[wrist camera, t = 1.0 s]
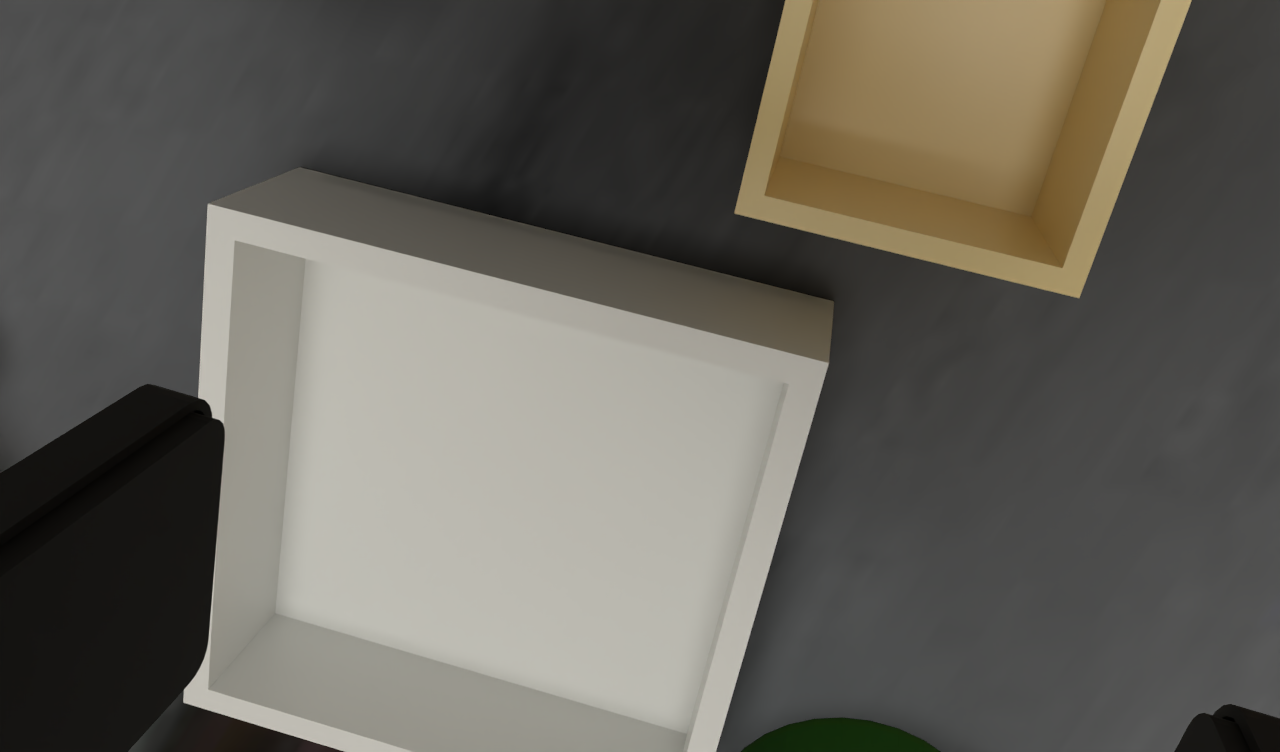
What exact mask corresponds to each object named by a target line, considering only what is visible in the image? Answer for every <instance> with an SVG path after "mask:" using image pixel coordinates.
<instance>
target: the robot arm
mask: <svg viewBox="0 0 1280 752" xmlns="http://www.w3.org/2000/svg"><path fill="white" fill-rule="evenodd" d="M224 443H225V429H224V425H223V423H222V422H221V421H220V420H218V419H215V418H212V411H211V408H210V405H209V404H208V403H207V402H206V401H205V400H203V399H200V398H196V397H193V396H189V395H186V394H183V393H179V392H176V391H173V390H169V389H166V388H162V387H159V386H156V385H150V384H146V385H144V386H141V387H139V388H137V389H136V390H134V391H132V392H131V393H129V394H128V395H126V396H124V397H123V398H121V399H120V400H118V401H116V402H115V403H113V404H112V405H110V406H108V407H107V408H105V409H103V410H102V411H100V412H99V413H97V414H95V415H94V416H92V417H91V418H89V419H87V420H86V421H84V422H83V423H81V424H79V425H78V426H76V427H74V428H73V429H71V430H70V431H68V432H66V433H65V434H63V435H62V436H60V437H58V438H57V439H55V440H54V441H52V442H50V443H49V444H47V445H45V446H44V447H42V448H41V449H39V450H37V451H36V452H34V453H33V454H31V455H29V456H28V457H26V458H25V459H23V460H21V461H20V462H18V463H16V464H15V465H13V466H12V467H10V468H8V469H7V470H5V471H4V472H2V473H0V752H128V751H129V750H130V748H131V747H132V746H133V745H134V744H135V743H136V742H137V741H138V740H139V738H140V737H141V736H142V735H143V734H144V733H145V732H146V731H147V730H148V729H149V727H150V726H151V725H152V724H153V723H154V722H155V721H156V720H157V719H158V717H159V716H160V715H161V714H162V713H163V712H164V711H165V710H166V709H167V708H168V706H169V705H170V704H171V703H172V702H173V701H174V700H175V699H176V698H177V697H178V695H179V694H180V693H181V692H182V691H183V690H184V689H185V688H186V687H187V685H188V684H189V683H190V682H191V681H192V679H193V678H194V677H195V676H196V674H197V672H198V670H199V669H200V667H201V664H202V662H203V660H204V657H205V654H206V651H207V646H208V640H209V627H210V615H211V603H212V591H213V578H214V566H215V554H216V541H217V529H218V517H219V505H220V492H221V480H222V468H223V455H224ZM1175 752H1280V718H1276V717H1273V716H1269V715H1266V714H1263V713H1259V712H1256V711H1253V710H1249V709H1246V708H1242V707H1239V706H1236V705H1232V704H1228V705H1224V706H1222V707H1221V708H1220V709H1218V710H1217V711H1216V712H1215V713H1214V715H1209V714H1206V713H1202V714H1198V715H1197V716H1196V717H1195V718H1193V720H1192V721H1191V723H1190V724H1189V726H1188V728H1187V729H1186V731H1185V733H1184V735H1183V737H1182V739H1181V741H1180V743H1179V744H1178V746H1177V748H1176V750H1175Z"/></svg>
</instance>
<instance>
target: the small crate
mask: <svg viewBox="0 0 1280 752" xmlns="http://www.w3.org/2000/svg"><path fill="white" fill-rule="evenodd" d="M1191 1H1192V0H785V5H784V9H783V13H782V17H781V21H780V25H779V29H778V34H777V38H776V42H775V46H774V50H773V54H772V59H771V63H770V67H769V71H768V75H767V79H766V84H765V88H764V92H763V96H762V100H761V104H760V108H759V113H758V117H757V121H756V125H755V129H754V133H753V138H752V142H751V146H750V150H749V154H748V158H747V163H746V167H745V171H744V175H743V179H742V183H741V188H740V192H739V196H738V200H737V204H736V208H735V212H734V214H738V215H742V216H746V217H750V218H755V219H759V220H763V221H767V222H771V223H775V224H779V225H783V226H787V227H791V228H795V229H799V230H803V231H807V232H811V233H816V234H820V235H824V236H828V237H832V238H836V239H840V240H844V241H848V242H852V243H856V244H860V245H864V246H868V247H873V248H877V249H881V250H885V251H889V252H893V253H897V254H901V255H905V256H909V257H913V258H917V259H921V260H925V261H929V262H934V263H938V264H942V265H946V266H950V267H954V268H958V269H962V270H966V271H970V272H974V273H978V274H982V275H986V276H991V277H995V278H999V279H1003V280H1007V281H1011V282H1015V283H1019V284H1023V285H1027V286H1031V287H1035V288H1039V289H1043V290H1047V291H1052V292H1056V293H1060V294H1064V295H1068V296H1072V297H1076V298H1079V297H1080V295H1081V292H1082V290H1083V287H1084V284H1085V282H1086V279H1087V276H1088V274H1089V271H1090V268H1091V266H1092V263H1093V260H1094V258H1095V255H1096V252H1097V250H1098V247H1099V245H1100V242H1101V239H1102V237H1103V234H1104V231H1105V229H1106V226H1107V223H1108V221H1109V218H1110V215H1111V213H1112V210H1113V207H1114V205H1115V202H1116V199H1117V197H1118V194H1119V192H1120V189H1121V186H1122V184H1123V181H1124V178H1125V176H1126V173H1127V170H1128V168H1129V165H1130V162H1131V160H1132V157H1133V154H1134V152H1135V149H1136V146H1137V144H1138V141H1139V139H1140V136H1141V133H1142V131H1143V128H1144V125H1145V123H1146V120H1147V117H1148V115H1149V112H1150V109H1151V107H1152V104H1153V101H1154V99H1155V96H1156V94H1157V91H1158V88H1159V86H1160V83H1161V80H1162V78H1163V75H1164V72H1165V70H1166V67H1167V64H1168V62H1169V59H1170V56H1171V54H1172V51H1173V48H1174V46H1175V43H1176V41H1177V38H1178V35H1179V33H1180V30H1181V27H1182V25H1183V22H1184V19H1185V17H1186V14H1187V11H1188V9H1189V6H1190V3H1191Z"/></svg>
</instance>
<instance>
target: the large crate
mask: <svg viewBox="0 0 1280 752" xmlns="http://www.w3.org/2000/svg"><path fill="white" fill-rule="evenodd" d="M833 311H834V301H830V300H826V299H822V298H819V297H815V296H811V295H807V294H803V293H799V292H795V291H791V290H787V289H783V288H779V287H775V286H771V285H767V284H763V283H759V282H755V281H751V280H747V279H743V278H739V277H735V276H731V275H727V274H723V273H719V272H715V271H711V270H707V269H703V268H699V267H695V266H691V265H687V264H683V263H679V262H675V261H671V260H667V259H663V258H659V257H655V256H651V255H647V254H643V253H639V252H635V251H632V250H628V249H624V248H620V247H616V246H612V245H608V244H604V243H600V242H596V241H592V240H588V239H584V238H580V237H576V236H572V235H568V234H564V233H560V232H556V231H552V230H548V229H544V228H540V227H536V226H532V225H528V224H524V223H520V222H516V221H512V220H508V219H504V218H500V217H496V216H492V215H488V214H484V213H480V212H476V211H472V210H468V209H464V208H460V207H456V206H452V205H448V204H445V203H441V202H437V201H433V200H429V199H425V198H421V197H417V196H413V195H409V194H405V193H401V192H397V191H393V190H389V189H385V188H381V187H377V186H373V185H369V184H365V183H361V182H357V181H353V180H349V179H345V178H341V177H337V176H333V175H329V174H325V173H321V172H317V171H313V170H309V169H305V168H301V167H299V168H296V169H294V170H291V171H289V172H286V173H284V174H281V175H279V176H276V177H274V178H271V179H269V180H266V181H264V182H261V183H259V184H256V185H253V186H251V187H248V188H246V189H243V190H241V191H238V192H236V193H233V194H231V195H228V196H226V197H223V198H221V199H218V200H216V201H213V202H211V203H208V210H207V231H206V251H205V271H204V292H203V312H202V333H201V353H200V374H199V394H198V398H200V399H203V400H205V401H206V402H207V403H208V404H209V405H210V408H211V411H212V418H215V419H218V420H220V421H221V422H222V423H223V425H224V429H225V443H224V455H223V468H222V480H221V492H220V505H219V517H218V529H217V541H216V554H215V566H214V578H213V591H212V603H211V615H210V627H209V640H208V646H207V651H206V654H205V657H204V660H203V662H202V664H201V667H200V669H199V670H198V672H197V674H196V676H195V677H194V678H193V679H192V681H191V682H190V683H189V684H188V685H187V687H186V688H185V689H184V702H183V703H187V704H190V705H193V706H197V707H200V708H203V709H206V710H210V711H213V712H216V713H220V714H223V715H226V716H229V717H233V718H236V719H239V720H243V721H246V722H249V723H252V724H256V725H259V726H262V727H266V728H269V729H272V730H276V731H279V732H282V733H285V734H289V735H292V736H295V737H299V738H302V739H305V740H308V741H312V742H315V743H318V744H322V745H325V746H328V747H331V748H335V749H338V750H341V751H345V752H716V750H717V746H718V743H719V740H720V736H721V733H722V729H723V726H724V722H725V719H726V716H727V712H728V709H729V705H730V702H731V698H732V695H733V691H734V688H735V685H736V681H737V678H738V674H739V671H740V667H741V664H742V660H743V657H744V654H745V650H746V647H747V643H748V640H749V636H750V633H751V629H752V626H753V623H754V619H755V616H756V612H757V609H758V605H759V602H760V599H761V595H762V592H763V588H764V585H765V581H766V578H767V574H768V571H769V568H770V564H771V561H772V557H773V554H774V550H775V547H776V543H777V540H778V537H779V533H780V530H781V526H782V523H783V519H784V516H785V513H786V509H787V506H788V502H789V499H790V495H791V492H792V488H793V485H794V482H795V478H796V475H797V471H798V468H799V464H800V461H801V457H802V454H803V451H804V447H805V444H806V440H807V437H808V433H809V430H810V427H811V423H812V420H813V416H814V413H815V409H816V406H817V402H818V399H819V396H820V392H821V389H822V385H823V382H824V378H825V375H826V371H827V368H828V365H829V356H830V345H831V334H832V322H833Z"/></svg>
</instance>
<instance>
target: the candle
mask: <svg viewBox="0 0 1280 752" xmlns="http://www.w3.org/2000/svg"><path fill="white" fill-rule="evenodd" d="M741 752H940V751H939V750H937V749H936V748H934V747H933V746H931V745H930V744H929V743H927V742H926V741H924V740H922V739H920V738H918V737H916V736H913V735H911V734H909V733H907V732H905V731H903V730H900V729H898V728H895V727H891V726H887V725H884V724H880V723H877V722H873V721H868V720H859V719H850V718H824V719H812V720H807V721H803V722H798V723H794V724H789V725H786V726H784V727H781V728H779V729H777V730H774V731H772V732H769V733H767V734H765V735H763V736H762V737H760V738H759V739H757V740H756V741H754V742H753V743H751V744H750V745H748V746H747V747H745V748H744V749H743V750H742V751H741Z"/></svg>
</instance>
